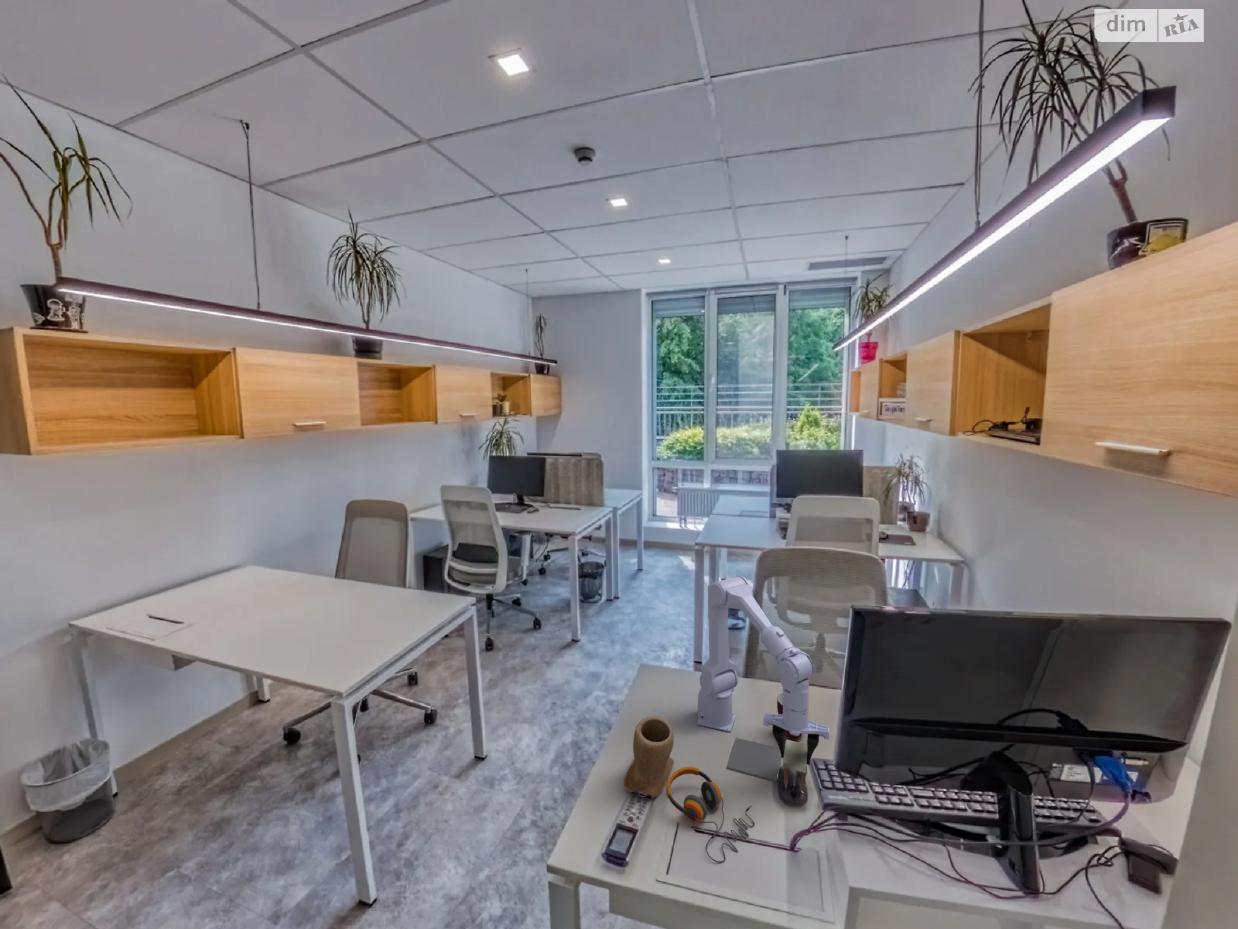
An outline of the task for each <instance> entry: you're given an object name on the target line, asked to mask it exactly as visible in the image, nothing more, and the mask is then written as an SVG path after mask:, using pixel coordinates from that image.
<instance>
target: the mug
mask: <svg viewBox="0 0 1238 929" xmlns="http://www.w3.org/2000/svg"><path fill="white" fill-rule="evenodd" d="M776 708H777V713H778V714H783V692H782V693H780V694H779V695H778V696H777V697H776ZM802 736H803V734H799V736H796V735H792V734H790V731H788V730H785V737H786V738H788V740H791V741H794V740H795V741H797V740H799V739H800V738H801V737H802Z"/></svg>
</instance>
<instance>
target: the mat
mask: <svg viewBox="0 0 1238 929" xmlns="http://www.w3.org/2000/svg"><path fill="white" fill-rule="evenodd" d="M781 762H782V758H781V753H780V749H779V747H777V746H776V747H775V746H773V745H768V744H764V743H761V742H760V743H759V742H756V741H751V740H748V739H744V738H739V737H736V738H735V742H734V743H733V747H732V751H731V753H730V757H729V760H728V763H727V766H726V769H727V770H731V771H734V772H738V773H741V774H745V775H748V776H753V777H757V778H761V779H764V780H768V781H771V782H775V783H777V782H776V781H777V774H778V772H779V773H780V770H779V769H780V768H781Z"/></svg>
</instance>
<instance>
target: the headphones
mask: <svg viewBox="0 0 1238 929" xmlns="http://www.w3.org/2000/svg"><path fill="white" fill-rule="evenodd" d="M684 775H695V776H700V777H701V778H703V779H704V780H706V781H703V782H702V784H701V787H700V792H701V796H702V799H701V798H700V797H699V796H697V795H694V794H688V795H687V796H686V797H685V798H684V800H683V806H682V805H680V804H679V802H677V801H676V800H675V799H674V796H672V790H671V787H672V783H674V781H676V779H677V778H679V777H680V776H684ZM665 786H666V787H665V790H666V791H665V792H666V797H667V798H668V799H669V801H670V803H671V804H672V805H673V806H674V808H676V810H679V812H680V813H682V814H683V815H685V817H686V818H687V819H688V820H689V821H690V822H692V823H694V824H699V823H703V824H715V827H716V829H715V832H714V833H713V835H711V836H710V838H709V839H708V840H707V842H706V844H705V851H706V854H707V856H708V858H709V859H710V860H711V861H713V862H716V863H719V864H721V863H724V862H725V861H726V855H725V851H724V848H723V847H724V845H726V846H727V847H729V848H730V849H731V850H732V851H733V852H734V853H739V850H738V848H736V846H735V845H734V844H733V843H732V841H731V840H730V839H732V840H733V841H735V842H736V841H737V840H738V838H739V839H740V840H741V841H743V842H746V841H747V838H749V837H750V835H749V833H748V832H747V831H746V830H748V829H749V828H753V827H755V821H754V819H752V818H751V817H750V815H748V814H747V812H749V811H750V809H751V808H752V805H750V806H748V807H747V808H746V809H745V810H744V813H745V816H747V818H748V819H749V820H750V821H751V822H752V823H753V825H751V824H748V823H747V821H745V820H744V819H743V818H741V817H738V819H737V818H735V817H734V818H732V820H733V822H734V824H735V825H736V826H737V827H738V828H737V830H738V832H739V834H740V835H741V836H740V835H739V834H738V833H737V832H736V831H735V830H733V829H730V833H731V834H732V835H733V836H732V835H731V834H730V833H729V832H728V831H724V832H723V837H724V838H725V839H726V840H727V842H728V843H729V844H730V845H731V846H730V845H729V844H728V843H726V842H723V843H722V844H721V851H722V854H723V857H724V859H723V860H716V859H714V858H713V857H711V856H710V854H709V852H708V844H709V842H710V841H711V840H714V839H715V837H716V835H718V833H719V832H720V831H721V830H722V828H723V824H724V820H725V813H724V810H723V809H724V804H725V803H724V799H723V797H722V796H723V795H722V793H721V788H720V787H719V786H718V784H716V782H714V781H713V780H712V779H711V778H710V777H709V775H707V774H706V773H704V772H703V771H702V770H700V769H699V768H698V767H692V766H685V767H680V768H678V769H676V771H674V772H672V774H670V775H669V777H668V779H667V781H666V784H665ZM721 802H722V805H721V812H722V822H721V825H720V826H719V829H718V824H717V822H715V821H712V820H711V821H704V820H705V819H706V818H707V815H708V809H710V810H714V809H717V808H718V806H719V805H720V804H721ZM707 807H708V808H707ZM740 825H741V826H740ZM748 827H749V828H748ZM726 834H727V835H728V836H729V837H730V839H729V838H727V836H726ZM737 837H738V838H737ZM742 837H743V838H742Z"/></svg>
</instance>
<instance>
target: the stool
mask: <svg viewBox="0 0 1238 929" xmlns="http://www.w3.org/2000/svg"><path fill="white" fill-rule="evenodd" d="M782 768H783V785H784V784H788V785H789V770H788V769H790V770H792V771H796V772H801V774H800V780H801V782H800V783H801V784H800V785H801V786H800V788H801V789H800V790H802V791H803V792H804V793H803V794H804V795H805V794H806V775H807V774H808V764H807V743H803V742H798V741H796V740H795V741H794V740H791V739H786V740H785V751H784V757H783V758H782Z"/></svg>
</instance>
